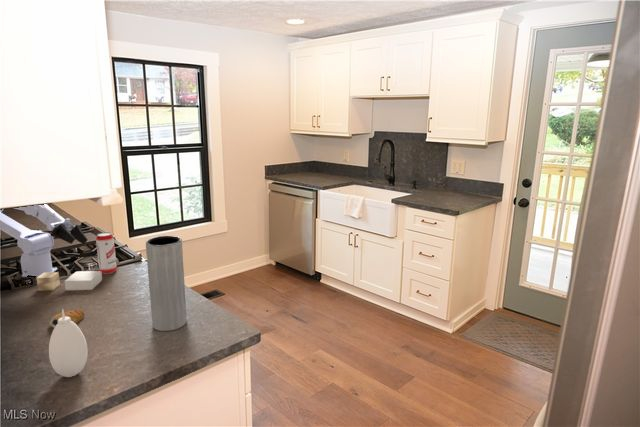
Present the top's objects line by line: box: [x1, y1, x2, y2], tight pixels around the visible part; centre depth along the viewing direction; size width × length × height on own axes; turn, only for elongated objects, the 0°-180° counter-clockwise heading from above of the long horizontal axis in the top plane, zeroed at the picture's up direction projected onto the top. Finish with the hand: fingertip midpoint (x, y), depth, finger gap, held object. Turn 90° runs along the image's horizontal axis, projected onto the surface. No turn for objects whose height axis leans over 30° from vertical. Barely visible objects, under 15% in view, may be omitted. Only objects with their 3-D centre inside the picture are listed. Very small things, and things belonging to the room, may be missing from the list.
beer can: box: [95, 231, 118, 275], centre depth 163 cm, size 6×6×16 cm
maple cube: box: [35, 271, 61, 292], centre depth 149 cm, size 5×5×5 cm
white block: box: [64, 270, 103, 291], centre depth 152 cm, size 9×9×4 cm
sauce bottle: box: [48, 308, 89, 378], centre depth 99 cm, size 8×8×18 cm
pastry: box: [49, 308, 85, 329], centre depth 126 cm, size 9×7×4 cm
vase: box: [145, 235, 187, 332], centre depth 123 cm, size 10×10×27 cm
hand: (79, 241), depth 153 cm, fingers open, 7 cm apart
